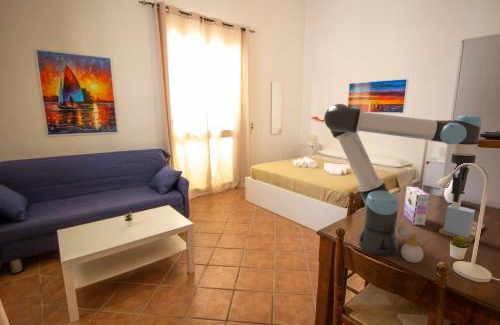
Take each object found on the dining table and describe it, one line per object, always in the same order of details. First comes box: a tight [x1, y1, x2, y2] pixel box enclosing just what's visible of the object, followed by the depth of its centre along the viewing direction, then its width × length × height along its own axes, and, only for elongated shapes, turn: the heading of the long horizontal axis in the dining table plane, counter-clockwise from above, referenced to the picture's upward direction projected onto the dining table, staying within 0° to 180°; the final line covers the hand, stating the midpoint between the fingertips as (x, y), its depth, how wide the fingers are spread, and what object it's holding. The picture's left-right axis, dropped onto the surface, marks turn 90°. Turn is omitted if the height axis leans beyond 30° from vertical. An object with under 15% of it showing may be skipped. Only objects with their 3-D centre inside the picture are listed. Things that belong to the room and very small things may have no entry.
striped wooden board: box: [438, 221, 485, 243], centre depth 125 cm, size 24×12×1 cm, turn 128°
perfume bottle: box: [397, 226, 424, 264], centre depth 100 cm, size 8×10×12 cm
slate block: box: [443, 204, 476, 238], centre depth 119 cm, size 5×9×12 cm, turn 38°
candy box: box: [403, 186, 430, 226], centre depth 134 cm, size 14×6×16 cm, turn 168°
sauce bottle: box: [444, 178, 453, 204], centre depth 156 cm, size 8×8×18 cm
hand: (455, 208), depth 110 cm, fingers closed
